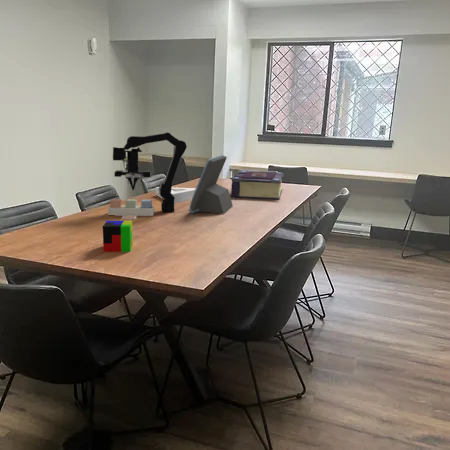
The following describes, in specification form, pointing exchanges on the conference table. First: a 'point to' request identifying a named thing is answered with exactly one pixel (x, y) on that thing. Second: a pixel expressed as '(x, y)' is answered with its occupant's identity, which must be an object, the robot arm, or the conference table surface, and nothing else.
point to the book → (257, 185)
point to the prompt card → (129, 217)
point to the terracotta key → (115, 203)
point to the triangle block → (180, 194)
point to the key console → (131, 211)
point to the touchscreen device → (211, 189)
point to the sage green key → (131, 203)
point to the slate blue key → (146, 204)
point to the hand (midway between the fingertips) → (133, 189)
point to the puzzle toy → (117, 236)
